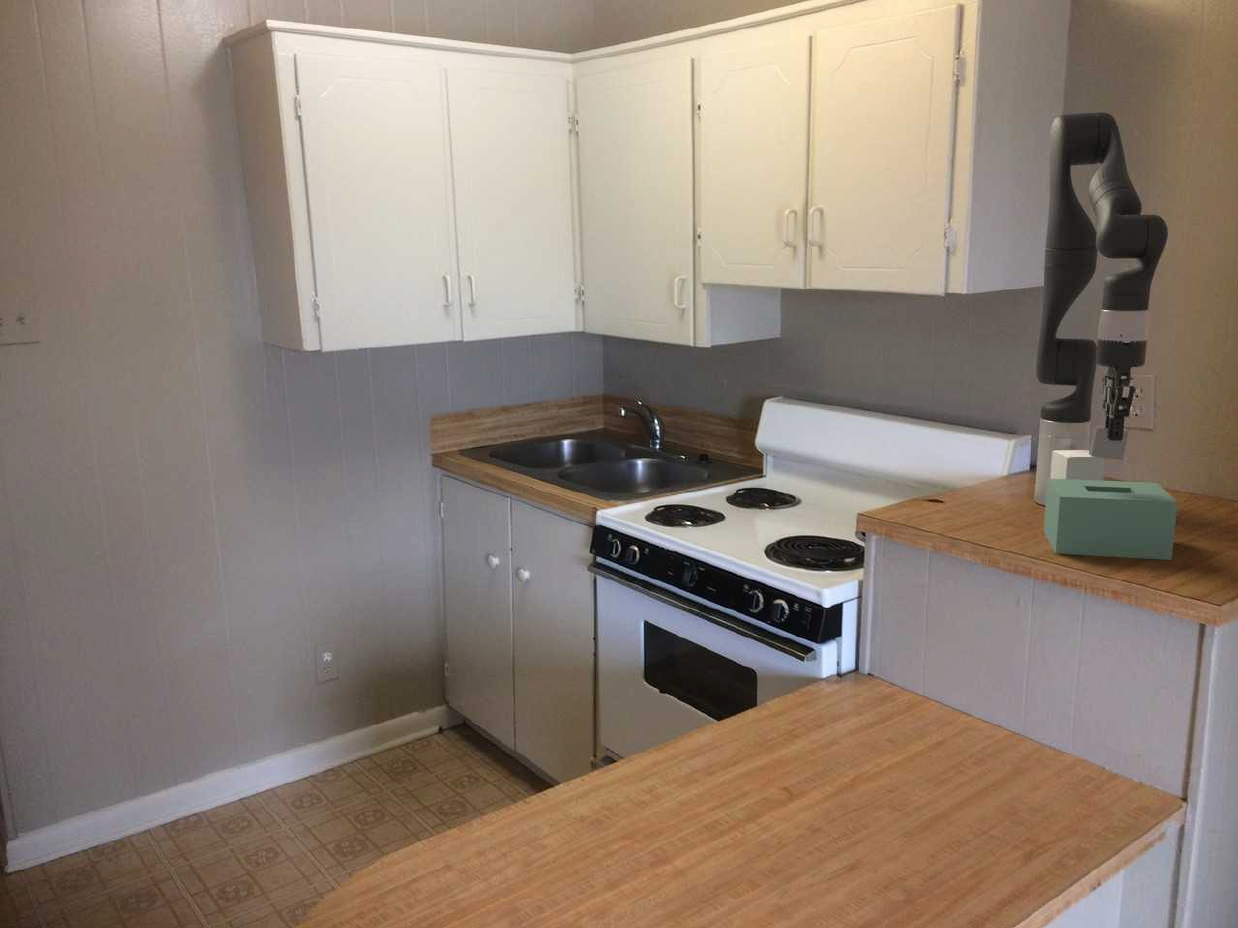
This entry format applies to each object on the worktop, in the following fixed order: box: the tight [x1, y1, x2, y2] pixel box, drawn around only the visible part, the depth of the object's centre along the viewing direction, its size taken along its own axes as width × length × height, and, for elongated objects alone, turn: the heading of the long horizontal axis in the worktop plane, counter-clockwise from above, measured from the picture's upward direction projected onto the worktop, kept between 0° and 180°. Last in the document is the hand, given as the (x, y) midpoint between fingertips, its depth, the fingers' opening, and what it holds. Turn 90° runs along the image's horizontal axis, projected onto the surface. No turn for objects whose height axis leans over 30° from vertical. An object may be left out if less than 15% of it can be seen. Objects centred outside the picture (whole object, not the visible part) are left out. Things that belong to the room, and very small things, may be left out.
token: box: [1088, 425, 1129, 461], centre depth 176 cm, size 2×5×5 cm, turn 76°
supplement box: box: [1050, 449, 1106, 481], centre depth 197 cm, size 7×7×13 cm
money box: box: [1043, 479, 1178, 561], centre depth 179 cm, size 14×18×10 cm
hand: (1113, 438), depth 176 cm, fingers closed on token, 2 cm apart
